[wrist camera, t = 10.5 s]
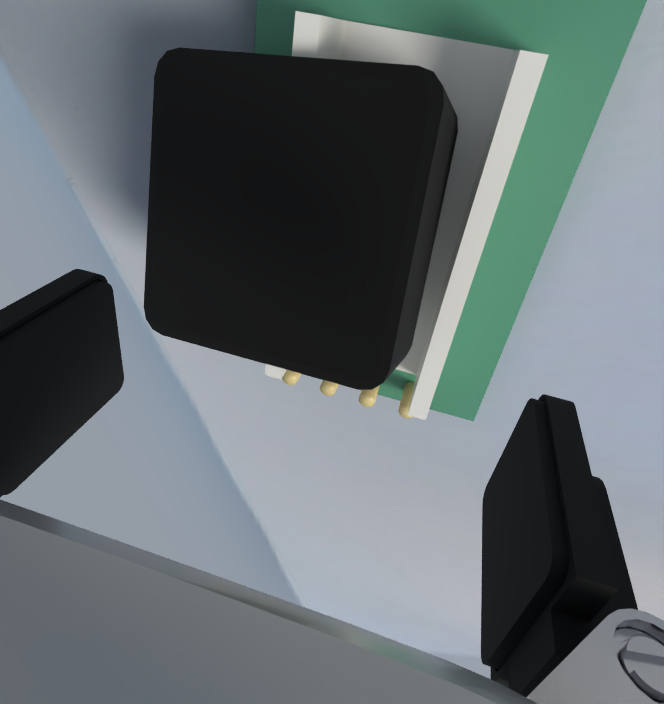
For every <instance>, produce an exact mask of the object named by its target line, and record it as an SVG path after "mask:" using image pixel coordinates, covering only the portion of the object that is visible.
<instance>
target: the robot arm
mask: <svg viewBox="0 0 664 704" xmlns="http://www.w3.org/2000/svg"><path fill="white" fill-rule="evenodd" d="M123 381H124V373H123V366H122V358H121V350H120V342H119V335H118V327H117V319H116V312H115V303H114V295H113V289H112V287H111V285H110V284H108V282H107V280H106V278H105V277H104V276H102V275H100V274H96V273H92V272H89V271H85V270H81V269H75V270H72V271H71V272H69V273H67V274H65V275H63V276H61V277H60V278H58V279H56V280H54V281H52V282H51V283H49V284H47V285H45V286H43V287H42V288H40V289H38V290H36V291H34V292H32V293H31V294H29V295H27V296H25V297H23V298H21V299H20V300H18V301H16V302H14V303H12V304H10V305H9V306H7V307H5V308H3V309H1V310H0V497H1V496H2V495H7V494H9V493H11V492H12V491H14V490H15V489H16V488H17V487H18V486H19V485H20V484H21V483H22V482H23V481H24V480H26V479H27V478H28V477H29V476H30V475H31V474H32V473H33V472H34V471H35V470H36V469H37V468H38V467H39V466H40V465H41V464H42V463H43V462H45V461H46V460H47V459H48V458H49V457H50V456H51V455H52V454H53V453H54V452H55V451H56V450H57V449H58V448H59V447H60V446H61V445H63V444H64V443H65V442H66V441H67V440H68V439H69V438H70V437H71V436H72V435H73V434H74V433H75V432H76V431H77V430H78V429H79V428H81V427H82V426H83V425H84V424H85V423H86V422H87V421H88V420H89V419H90V418H91V417H92V416H93V415H94V414H95V413H96V412H97V411H99V410H100V409H101V408H102V406H104V405H105V404H106V403H107V402H108V401H109V400H110V399H111V398H112V397H113V396H114V395H115V394H116V393H118V391H119V390H120V389H121V387H122V384H123ZM481 659H482V663H483V664H485V665H488V666H490V667H491V679H489V678H486V677H484V676H481V675H479V674H477V673H475V672H472V671H470V670H468V669H465V668H463V667H460V666H458V665H456V664H453V663H451V662H449V661H447V660H444V659H442V658H439V657H436V656H434V655H431V654H428V653H426V652H423V651H421V650H418V649H415V648H413V647H410V646H407V645H405V644H402V643H399V642H397V641H394V640H391V639H389V638H386V637H384V636H381V635H378V634H376V633H373V632H370V631H368V630H365V629H362V628H360V627H357V626H355V625H352V624H349V623H346V622H344V621H341V620H338V619H335V618H332V617H330V616H327V615H324V614H321V613H319V612H316V611H313V610H310V609H307V608H305V607H302V606H299V605H296V604H293V603H291V602H288V601H285V600H282V599H279V598H277V597H274V596H271V595H268V594H266V593H263V592H260V591H257V590H254V589H252V588H249V587H246V586H243V585H240V584H238V583H235V582H232V581H230V580H227V579H224V578H221V577H218V576H216V575H213V574H210V573H207V572H204V571H202V570H198V569H196V568H193V567H190V566H187V565H185V564H182V563H179V562H176V561H173V560H170V559H167V558H165V557H162V556H159V555H156V554H154V553H151V552H148V551H145V550H142V549H139V548H137V547H134V546H131V545H128V544H125V543H123V542H120V541H117V540H114V539H111V538H108V537H106V536H103V535H100V534H97V533H94V532H91V531H89V530H86V529H83V528H80V527H77V526H74V525H71V524H69V523H66V522H63V521H60V520H57V519H54V518H52V517H49V516H46V515H43V514H40V513H37V512H34V511H31V510H28V509H25V508H23V507H20V506H17V505H14V504H11V503H8V502H5V501H2V500H0V704H664V621H663V620H661V619H659V618H657V617H655V616H653V615H651V614H649V613H647V612H644V611H640V610H638V608H637V604H636V600H635V596H634V593H633V589H632V585H631V581H630V577H629V574H628V570H627V566H626V562H625V559H624V555H623V551H622V547H621V544H620V540H619V536H618V532H617V528H616V525H615V521H614V517H613V513H612V510H611V506H610V502H609V498H608V494H607V491H606V488H605V485H604V483H603V481H602V480H601V479H600V478H597V477H594V476H592V474H591V470H590V466H589V462H588V458H587V453H586V449H585V445H584V441H583V437H582V433H581V428H580V424H579V420H578V416H577V412H576V408H575V405H574V403H573V402H571V401H567V400H563V399H560V398H556V397H552V396H548V395H545V394H544V395H542V396H541V397H540V398H539V399H538V400H536V399H532V398H531V399H529V401H528V402H527V404H526V406H525V408H524V410H523V412H522V414H521V416H520V418H519V420H518V422H517V424H516V426H515V429H514V431H513V433H512V435H511V437H510V439H509V441H508V443H507V445H506V447H505V449H504V451H503V453H502V455H501V457H500V459H499V461H498V463H497V466H496V468H495V470H494V472H493V474H492V476H491V478H490V480H489V482H488V484H487V486H486V489H485V492H484V497H483V516H482V607H481Z"/></svg>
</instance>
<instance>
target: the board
mask: <svg viewBox="0 0 664 704" xmlns="http://www.w3.org/2000/svg"><path fill="white" fill-rule="evenodd" d="M646 1H647V0H257V8H256V29H255V51H254V53H257V54H271V55H284V56H297V57H311V58H324V59H338V60H351V61H364V62H378V63H391V64H405V65H418V66H421V67H423V68H426V69H428V70H431V71H433V72H434V73H435V74H436V76H437V77H438V79H439V80H440V82H441V84H442V85H443V87H444V89H445V91H446V93H447V95H448V98H449V100H450V102H451V104H452V106H453V108H454V110H455V113H456V115H457V117H458V134H457V139H456V143H455V148H454V153H453V157H452V162H451V166H450V171H449V176H448V180H447V185H446V190H445V194H444V199H443V204H442V208H441V213H440V218H439V222H438V227H437V232H436V236H435V241H434V246H433V250H432V255H431V259H430V264H429V269H428V273H427V278H426V283H425V287H424V292H423V297H422V301H421V306H420V311H419V315H418V320H417V325H416V329H415V334H414V339H413V343H412V347H411V348H410V350H409V352H408V354H407V356H406V357H405V358H404V359H403V361H402V362H401V363H400V364H399V365H398V366H397V368H396V369H395V370H394V371H393V372H392V373H391V375H390V376H389V377H388V378H387V379H386V380H385V382H384V383H382V384H381V385H379V386H377V387H376V388H374V389H372V390H362V391H361V394H360V397H359V402H360V403H361V404H362V405H363V406H365V407H371V406H373V405H374V403H375V400H376V397H377V394H378V395H382V396H385V397H389V398H392V399H396V400H400V401H401V402H400V406H399V414H400V415H401V416H402V417H404V418H412V417H415V418H419V419H422V420H426V417H427V414H428V411H429V409H432V410H435V411H439V412H442V413H446V414H450V415H453V416H457V417H460V418H464V419H467V420H471V421H474V419H475V416H476V414H477V411H478V409H479V406H480V404H481V402H482V399H483V397H484V394H485V392H486V389H487V387H488V385H489V382H490V380H491V377H492V375H493V372H494V370H495V368H496V365H497V363H498V360H499V358H500V355H501V353H502V351H503V348H504V346H505V343H506V341H507V338H508V336H509V334H510V331H511V329H512V326H513V324H514V321H515V319H516V317H517V314H518V312H519V309H520V307H521V305H522V302H523V300H524V297H525V295H526V292H527V290H528V288H529V285H530V283H531V280H532V278H533V275H534V273H535V271H536V268H537V266H538V263H539V261H540V258H541V256H542V254H543V251H544V249H545V246H546V244H547V241H548V239H549V237H550V234H551V232H552V229H553V227H554V224H555V222H556V220H557V217H558V215H559V212H560V210H561V207H562V205H563V203H564V200H565V198H566V195H567V193H568V190H569V188H570V186H571V183H572V181H573V178H574V176H575V173H576V171H577V169H578V166H579V164H580V161H581V159H582V156H583V154H584V152H585V149H586V147H587V144H588V142H589V139H590V137H591V135H592V132H593V130H594V127H595V125H596V123H597V120H598V118H599V115H600V113H601V110H602V108H603V106H604V103H605V101H606V98H607V96H608V93H609V91H610V89H611V86H612V84H613V81H614V79H615V76H616V74H617V72H618V69H619V67H620V64H621V62H622V59H623V57H624V55H625V52H626V50H627V47H628V45H629V42H630V40H631V38H632V35H633V33H634V30H635V28H636V25H637V23H638V21H639V18H640V16H641V13H642V11H643V8H644V6H645V4H646ZM265 375H267V376H271V377H274V378H278V379H283V381H284V382H285V383H286V384H288V385H294V384H296V382H297V381H298V379H299V377H300V375H301V373H297V372H293V371H290V370H286V369H283V368H279V367H275V366H272V365H268V364H266V367H265ZM338 385H339V384H337V383H333V382H329V381H326V380H323V382H322V384H321V386H320V390H321V392H322V393H323V394H324V395H327V396H332V395H334V394H335V392H336V389H337V387H338Z"/></svg>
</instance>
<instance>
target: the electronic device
mask: <svg viewBox="0 0 664 704" xmlns="http://www.w3.org/2000/svg"><path fill="white" fill-rule="evenodd" d="M457 134H458V117H457V115H456V113H455V110H454V108H453V106H452V104H451V102H450V100H449V98H448V95H447V93H446V91H445V89H444V87H443V85H442V84H441V82H440V80H439V79H438V77H437V76H436V74H435V73H434V72H433V71H431V70H428V69H426V68H423V67H421V66H418V65H405V64H391V63H378V62H364V61H351V60H338V59H324V58H311V57H297V56H284V55H271V54H257V53H244V52H230V51H217V50H203V49H190V48H176V49H173V50H169V51H167V52H166V53H165V54H164V55H163V57H162V58H161V59H160V60H159V61H158V65H157V69H156V73H155V77H154V98H153V120H152V142H151V163H150V185H149V207H148V228H147V250H146V272H145V293H144V310H145V316H146V320H147V321H148V323H149V324H150V326H151V327H152V329H153V330H155V331H156V332H158V333H160V334H162V335H164V336H168V337H171V338H175V339H178V340H182V341H186V342H189V343H193V344H196V345H200V346H204V347H207V348H211V349H214V350H218V351H222V352H225V353H229V354H232V355H236V356H240V357H243V358H247V359H250V360H254V361H257V362H261V363H265V364H268V365H272V366H275V367H279V368H283V369H286V370H290V371H293V372H297V373H301V374H304V375H308V376H311V377H315V378H319V379H322V380H326V381H329V382H333V383H337V384H340V385H344V386H347V387H351V388H355V389H358V390H372V389H374V388H376V387H377V386H379V385H381V384H382V383H384V382H385V380H386V379H387V378H388V377H389V376H390V375H391V373H392V372H393V371H394V370H395V369H396V368H397V366H398V365H399V364H400V363H401V362H402V361H403V359H404V358H405V357H406V356H407V354H408V352H409V350H410V348H411V347H412V343H413V339H414V334H415V329H416V325H417V320H418V315H419V311H420V306H421V301H422V297H423V292H424V287H425V283H426V278H427V273H428V269H429V264H430V259H431V255H432V250H433V246H434V241H435V236H436V232H437V227H438V222H439V218H440V213H441V208H442V204H443V199H444V194H445V190H446V185H447V180H448V176H449V171H450V166H451V162H452V157H453V153H454V148H455V143H456V139H457Z"/></svg>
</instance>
